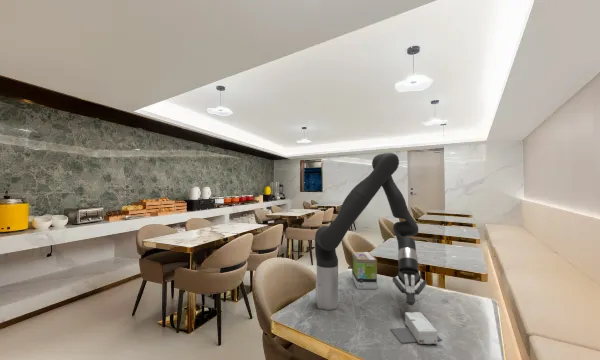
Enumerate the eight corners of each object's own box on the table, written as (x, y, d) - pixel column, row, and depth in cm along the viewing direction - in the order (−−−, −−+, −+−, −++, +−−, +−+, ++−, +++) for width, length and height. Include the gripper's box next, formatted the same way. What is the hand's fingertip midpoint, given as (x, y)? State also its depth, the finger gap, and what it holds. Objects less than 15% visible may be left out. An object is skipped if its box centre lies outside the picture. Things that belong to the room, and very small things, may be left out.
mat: (401, 343, 83) (401, 342, 83) (390, 329, 91) (390, 328, 91) (441, 340, 84) (441, 339, 84) (427, 327, 92) (427, 326, 92)
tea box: (377, 289, 126) (377, 259, 126) (357, 289, 126) (356, 259, 126) (369, 278, 141) (369, 251, 141) (351, 278, 141) (351, 251, 141)
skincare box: (420, 311, 94) (438, 329, 82) (421, 324, 94) (438, 344, 82) (404, 312, 94) (418, 330, 82) (404, 324, 94) (419, 344, 82)
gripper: (390, 255, 106) (391, 297, 94) (426, 258, 101) (432, 303, 90) (390, 264, 111) (391, 305, 99) (424, 267, 106) (429, 311, 95)
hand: (410, 304), depth 94 cm, fingers closed
